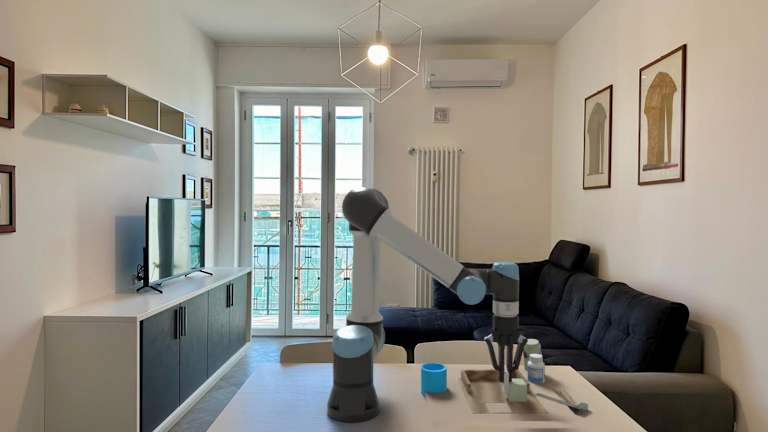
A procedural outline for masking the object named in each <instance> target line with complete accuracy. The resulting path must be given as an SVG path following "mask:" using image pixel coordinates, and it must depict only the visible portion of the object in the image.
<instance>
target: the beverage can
mask: <svg viewBox="0 0 768 432" xmlns="http://www.w3.org/2000/svg"><path fill="white" fill-rule="evenodd" d="M526 339H527V340H528V342H527V343H526V345H525V346H524V349H523V353H522V356H523V367H524V370H525V371H526V372H528V361H530V354H540V355H542V346H541V343H540V342H539V340H538V339H535V338H526Z"/></svg>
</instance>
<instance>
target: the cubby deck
mask: <svg viewBox="0 0 768 432" xmlns="http://www.w3.org/2000/svg"><path fill="white" fill-rule="evenodd" d="M504 370H507V368H504ZM457 379H458V382H459V385H460V386H461V390H462V391H463V395H464V397H465V398H466V401H467V403H468V405H469V408H470V411H471V412H472V414H549V412H548V411H547V409H546V408H545V406H544V405H543V404H542V403H541V401H539V398H537V396H536V395H535V394H534V393H533V391H532V390H531V389H530V388H531V387H530V386H531V384H530V381H528V379H526V377H525V376H524V375H523V373H521V371H520V370H519V369H518V370H514V371H513V373H512V379H523V381H524V382H525V383H526V384H527V402H510V401H509V400H508V398H507V397H506V395H504V393H503V392H502V383H501V382H500V381H499V371H498V370H495V369H494V368H491V369H487V368H484V369H481V368H480V369H471V368H470V369H467V368H465V369H464V368H463V369H460V378H457ZM492 403H493V404H502V403H503V404H507V405H508V407H509V409H510V411H509V412H508V411H507V412H502V411H501V412H500V411H499V412H492V411H489V408H488V406H487V404H492Z"/></svg>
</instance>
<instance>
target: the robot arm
mask: <svg viewBox="0 0 768 432" xmlns="http://www.w3.org/2000/svg"><path fill="white" fill-rule="evenodd" d="M341 211H342V215H343V216H344V218H345V220H346V221H347V222H348V231H349V233H350V234H351V235H352V236H353V237H352V238H353V244H352V277H351V279H352V281H351V284H352V285H351V311H350V312H349V313H348V314H347V315H346V319H345V320H346V325H345V326H344V327H340V328H338V329H336V331H334V333H333V336H332V344H331V347H332V386H331V391H330V395H329V397H328V400H327V404H326V405H327V406H326V407H327V409H326V413H327V415H328V416H329V417H330V418H332V419H333V420H336V421H339V422H345V423H356V422H357V423H358V422H359V423H360V422H365V421H368V420H372V419H373V418H375V417H376V416H377V415H378V414H379V413H380V399H379V397H378V394H377V390H376V387H375V384H374V360H375V359H376V357H377V355H378V354H379V353H380V352H381V351H382V349H383V348H384V344H385V342H386V332H385V329H384V316H383V315H382V314H381V313H380V311H379V307H380V306H379V305H380V304H379V303H380V276H381V274H380V273H381V272H380V271H381V270H380V269H381V241H382V242H383V243H384V244H385V245H388V246H389V247H390V248H392V249H393V250H395V251H396V252H398V254H400V255H402V256H403V257H404V258H406V259H407V260H409V261H410V262H411V263H413V264H414V265H416V266H417V267H418V268H419V269H421V270H422V271H424V272H425V273H427V274H428V275H429V276H430V277H432V278H434V279H435V280H436V281H438V282H439V283H441V284H442V285H444V287H446V288H447V289H449V290H450V291H451V292H453V293H454V294H456V295H457V296H458V298H459V299H460V301H461V302H463V303H464V304H466V305H472V306H473V305H477V304H478V303H480V302H481V301H483V300H484V297H485V295H492V313H493V314H492V329H491V332H490V334H489V335H487V336H484V337H483V340H484V342H485V343H486V345H487V350H488V353H489V358H490V361H491V364H492V369H495V370H498V371H499V381H500V382H501V383H502V392H503V393H504V395H509V382H512V373H513V371H514V370H519V369H520V364H521V361H522V356H523V349H524V346H525V345H526V343H527V342H528V340H527V339H528V338H526V337H525V336H524V335H522V334H521V332H520V330H519V329H520V327H519V326H520V322H519V321H520V319H519V318H520V316H518V315H519V313H520V311H519V307H520V304H519V303H520V269H519V266H518V265H517V263H516V262H511V261H510V262H509V261H496V262H494V263H493V264H492V268H483V269H482V268H467V267H465V266H464V265H463V264H462V263H460V262H458V261H457V260H456V259H455V258H453V257H451V256H450V255H449V254H447V253H446V252H444V251H443V250H442V249H440V248H439V247H437V246H436V244H433V243H432V242H431V241H429V240H428V239H427V238H425V237H423V236H422V235H421V234H419V233H418V232H417V231H415V230H413V229H412V228H410V227H409V226H408V225H407V224H405V223H403V222H402V221H401V220H399V219H398V218H397V217H395V216H394V215H392V213H391V209H390V206H389V200H388V199H387V197H386V196H385V195H384V194H383V193H382V192H381V191H379V190H378V189H375V188H370V187H369V188H367V187H355V188H352V189H350V191H349V192H348V193H347V194H346V195H345V196H344V198H343V200H342V204H341ZM493 342H496V344H497V347H498V349H497V351H498V353H497V354H498V355H497V356H498V362H497V357H496V353H495V349H494V346H493ZM516 342H517V346H516V350H515V352H514V345H515V344H516ZM505 350H506V361H505ZM514 353H515V354H514ZM513 356H514V357H513ZM505 362H506V367H505ZM504 369H507V370H504Z"/></svg>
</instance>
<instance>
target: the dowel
mask: <svg viewBox="0 0 768 432" xmlns="http://www.w3.org/2000/svg"><path fill="white" fill-rule="evenodd" d="M558 390H559V391H558V392H559V395H561V396H560V397H561V398H562V399H564V400H563V401H565V402H568V403H571V404H574V405H578V404H579V403H577V402H576V401H575V400H574V399H573V397H572V396H571V395H570V394H569V392H568V391H566V389H563V388H562V389H561V388H560V389H558Z"/></svg>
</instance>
